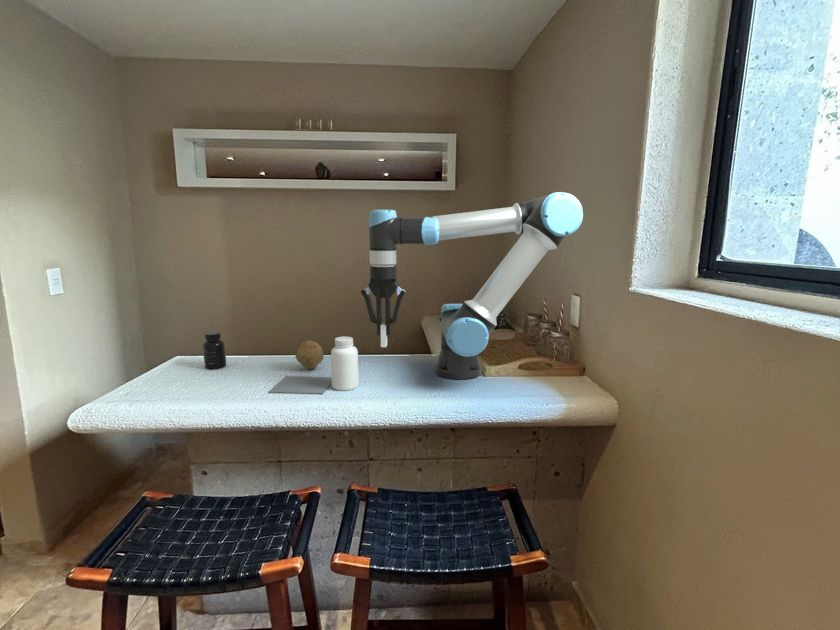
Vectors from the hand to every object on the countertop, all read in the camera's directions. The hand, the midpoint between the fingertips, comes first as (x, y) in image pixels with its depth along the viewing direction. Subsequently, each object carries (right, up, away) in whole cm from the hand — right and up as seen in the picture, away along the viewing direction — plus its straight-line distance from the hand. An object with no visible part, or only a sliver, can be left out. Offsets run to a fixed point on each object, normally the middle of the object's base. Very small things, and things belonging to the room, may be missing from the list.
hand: (384, 345), depth 132 cm
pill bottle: (-12, -13, +3) cm, 18 cm away
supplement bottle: (-60, -9, +22) cm, 64 cm away
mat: (-25, -12, +4) cm, 28 cm away
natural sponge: (-27, -9, +20) cm, 35 cm away
